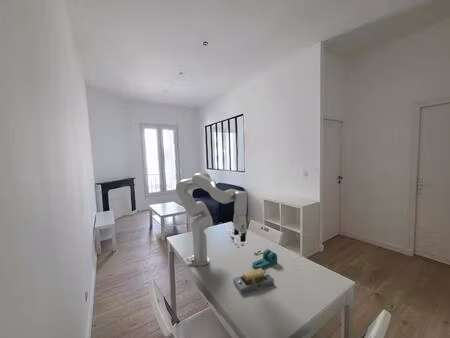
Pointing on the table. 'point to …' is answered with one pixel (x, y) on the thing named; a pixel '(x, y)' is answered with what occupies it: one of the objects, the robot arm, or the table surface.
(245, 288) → the grey pocketed fixture tray
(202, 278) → the table surface
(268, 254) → the bracket
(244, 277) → the yellow rectangular block
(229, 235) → the miniature set
